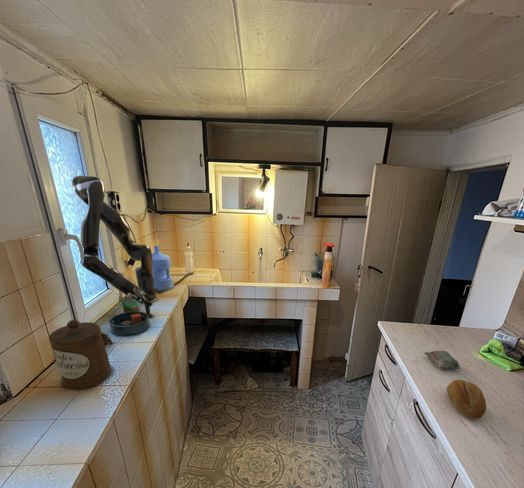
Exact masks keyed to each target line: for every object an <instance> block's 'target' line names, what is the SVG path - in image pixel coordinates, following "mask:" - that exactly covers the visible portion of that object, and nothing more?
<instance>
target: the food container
mask: <svg viewBox="0 0 524 488" xmlns="http://www.w3.org/2000/svg"><path fill="white" fill-rule="evenodd" d="M120 302H121V306H122V309H123V313H125V312H132V311H139V301H137V300H136V299H134V298H132V294H131V293H129V294H127V295H124V296H123V297H120Z"/></svg>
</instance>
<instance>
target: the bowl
mask: <svg viewBox="0 0 524 488" xmlns="http://www.w3.org/2000/svg"><path fill="white" fill-rule="evenodd" d="M137 313H139V314H140V315H141V316H142V321H143V322H140V323H138V324H134V325H129V326H120V323H122V322H125V321H131V322H132V320H131V315H133V314H137ZM108 326H109V330H110V332H111V333H113V334H114V335H117V336H133V335H137V334H141V333H143V332H144V331H146V330H147V329H148V328H149V327H150V326H151V318H150V319H149V315H148V314H147V313H146V311H141V310H140V311H139V310H138V311H132V312H125V313H124V312H120V313H118V314H115V315H114V316H112V317H110V318H109V319H108Z"/></svg>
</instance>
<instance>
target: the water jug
mask: <svg viewBox="0 0 524 488" xmlns="http://www.w3.org/2000/svg"><path fill="white" fill-rule="evenodd" d="M153 249H154V250H153V252H152V261H153V269H152V271H153V278H154V285H155V288H157V290H159V292H161V291H163V290H164V292H165V291H169V290H172V289H173V288H174V287H175V285H173V284H174V279H173V278H174V277H173V276H172V275H171V273H170V269H171V268H172V261H171V260H172V259H171V256H170V255H167V254H166V253H165V254H164V253H162V252H161V250H160V246H159V245H154V246H153Z"/></svg>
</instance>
